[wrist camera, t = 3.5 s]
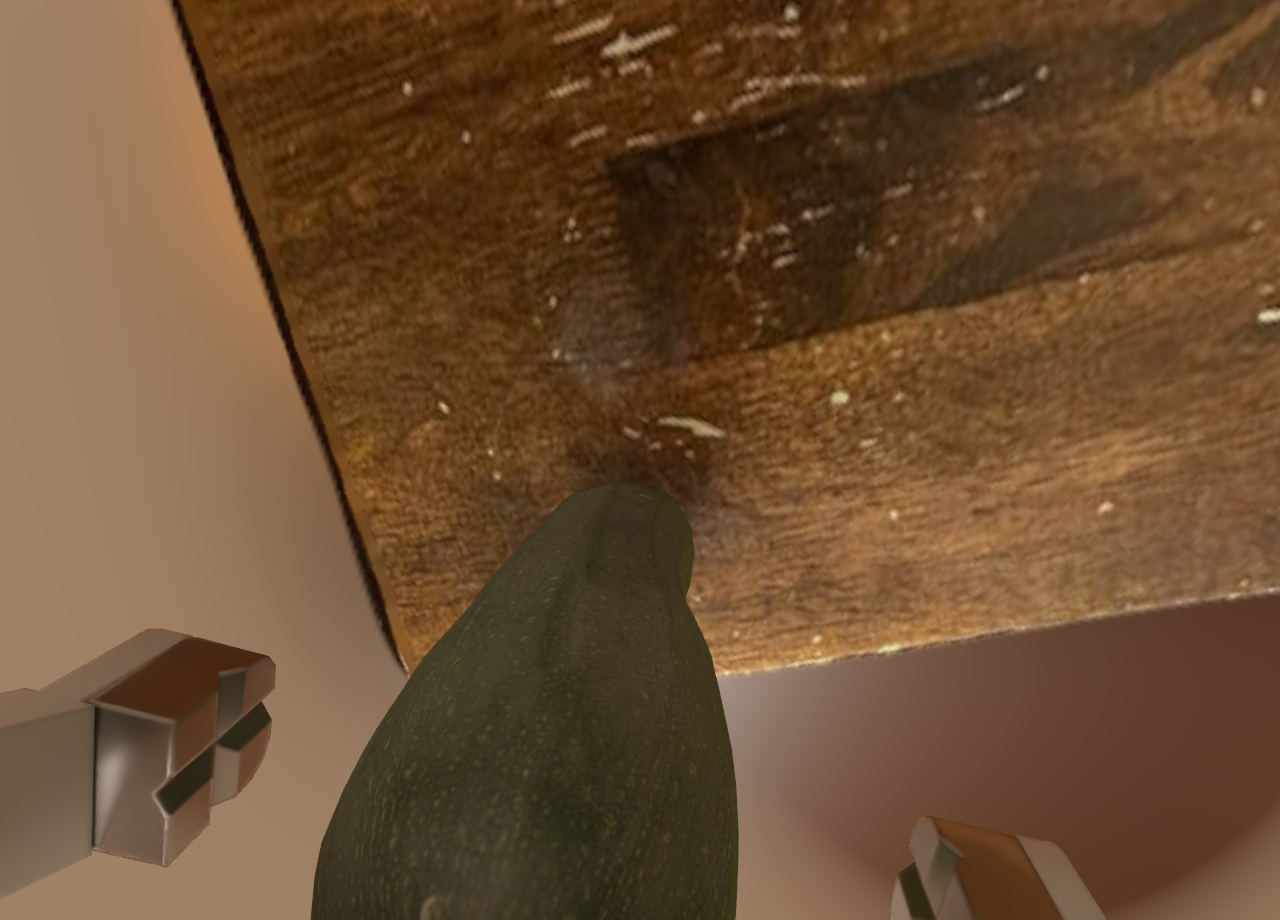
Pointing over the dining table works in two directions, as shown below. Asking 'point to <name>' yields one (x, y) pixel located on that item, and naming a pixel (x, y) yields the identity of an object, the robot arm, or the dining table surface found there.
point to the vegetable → (552, 744)
